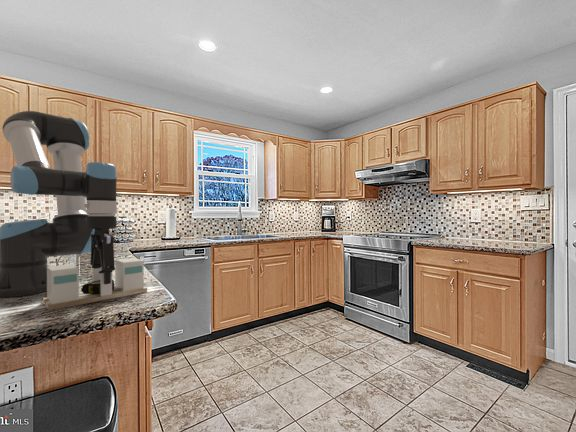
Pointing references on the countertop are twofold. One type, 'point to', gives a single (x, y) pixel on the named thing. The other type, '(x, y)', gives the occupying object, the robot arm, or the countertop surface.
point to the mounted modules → (67, 279)
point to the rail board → (92, 298)
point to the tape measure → (93, 288)
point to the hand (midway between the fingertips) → (102, 292)
